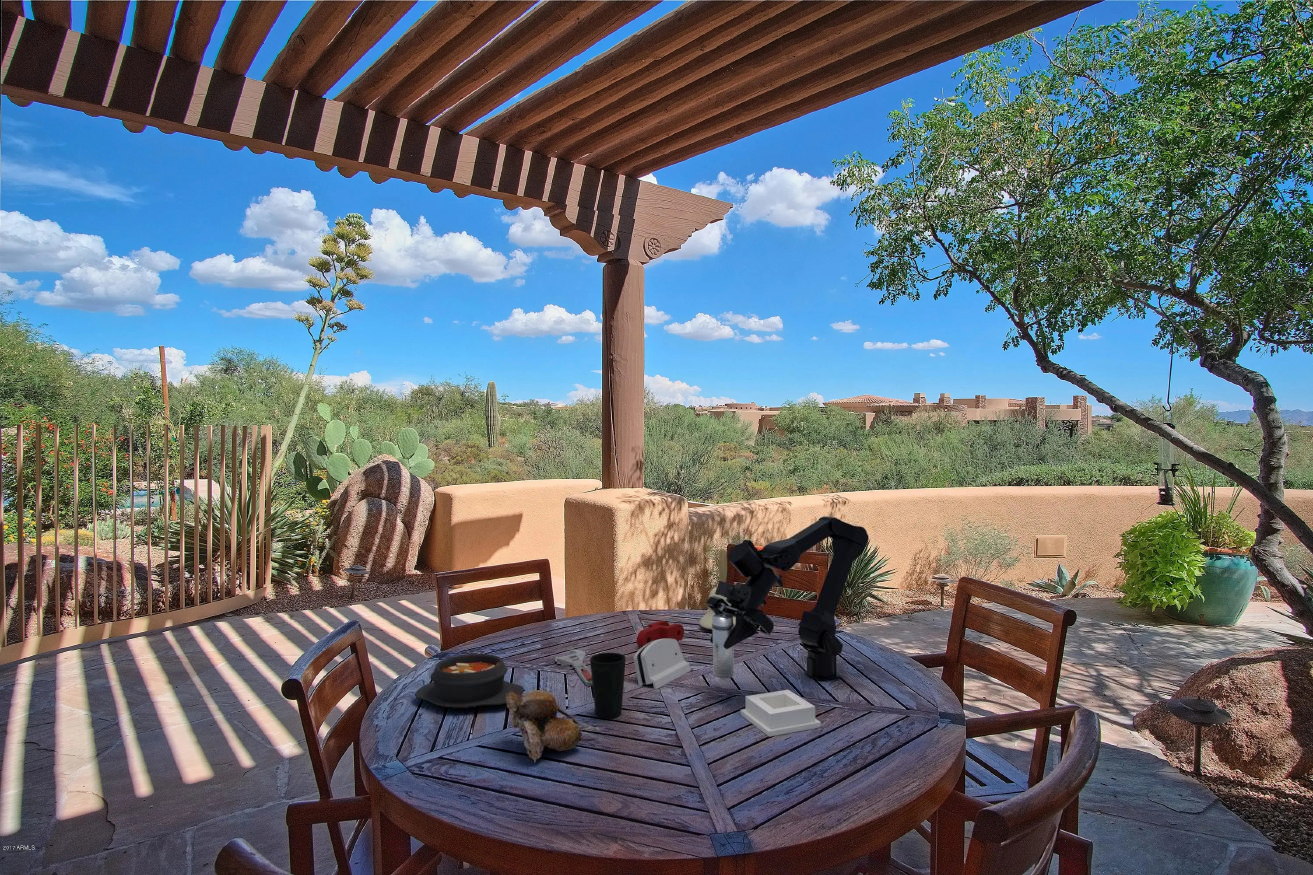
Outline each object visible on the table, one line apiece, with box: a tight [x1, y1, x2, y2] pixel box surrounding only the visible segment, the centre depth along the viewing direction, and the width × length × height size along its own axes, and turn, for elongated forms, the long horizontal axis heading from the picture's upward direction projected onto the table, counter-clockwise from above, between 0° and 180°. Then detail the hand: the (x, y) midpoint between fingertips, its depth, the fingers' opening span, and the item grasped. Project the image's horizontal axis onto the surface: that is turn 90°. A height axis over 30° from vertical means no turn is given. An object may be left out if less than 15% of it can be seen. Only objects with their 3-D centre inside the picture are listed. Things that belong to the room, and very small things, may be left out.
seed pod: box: [505, 689, 600, 764], centre depth 131 cm, size 13×16×15 cm
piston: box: [712, 614, 735, 679], centre depth 153 cm, size 5×5×13 cm
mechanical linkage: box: [636, 620, 685, 649], centre depth 199 cm, size 16×7×5 cm, turn 141°
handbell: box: [698, 548, 736, 631], centre depth 214 cm, size 15×15×25 cm
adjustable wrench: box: [554, 649, 593, 687], centre depth 176 cm, size 8×26×2 cm, turn 14°
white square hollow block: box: [739, 689, 822, 738], centre depth 142 cm, size 12×12×4 cm
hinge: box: [633, 639, 692, 690], centre depth 171 cm, size 17×5×10 cm, turn 146°
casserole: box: [414, 653, 525, 709], centre depth 156 cm, size 25×19×8 cm
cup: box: [589, 652, 627, 720], centre depth 147 cm, size 8×8×12 cm
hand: (718, 645), depth 153 cm, fingers closed on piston, 5 cm apart
